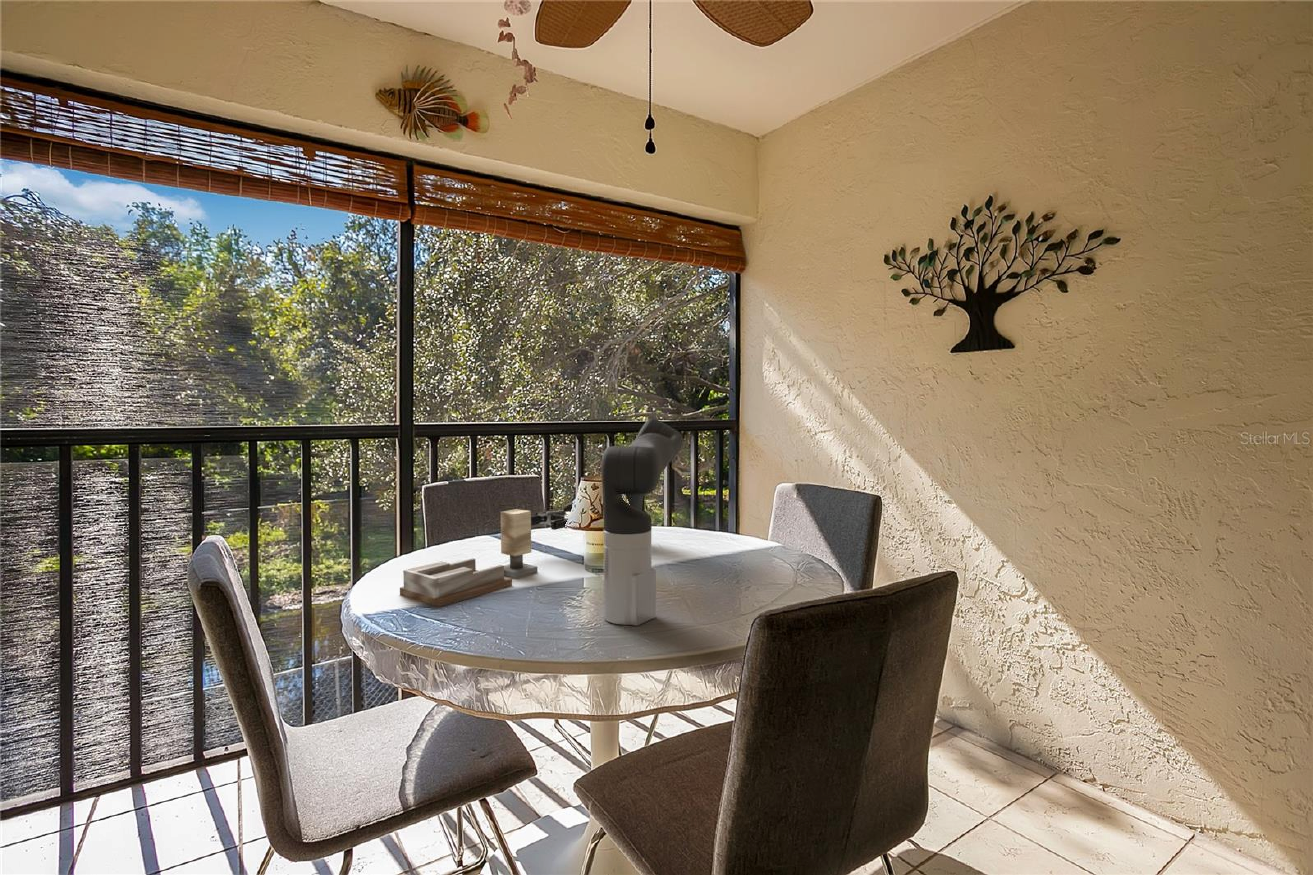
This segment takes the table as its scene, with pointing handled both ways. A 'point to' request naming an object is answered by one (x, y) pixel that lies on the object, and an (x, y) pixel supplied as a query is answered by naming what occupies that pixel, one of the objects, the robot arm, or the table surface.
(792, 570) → the table surface
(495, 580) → the track
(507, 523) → the keyhole post
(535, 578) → the table surface
